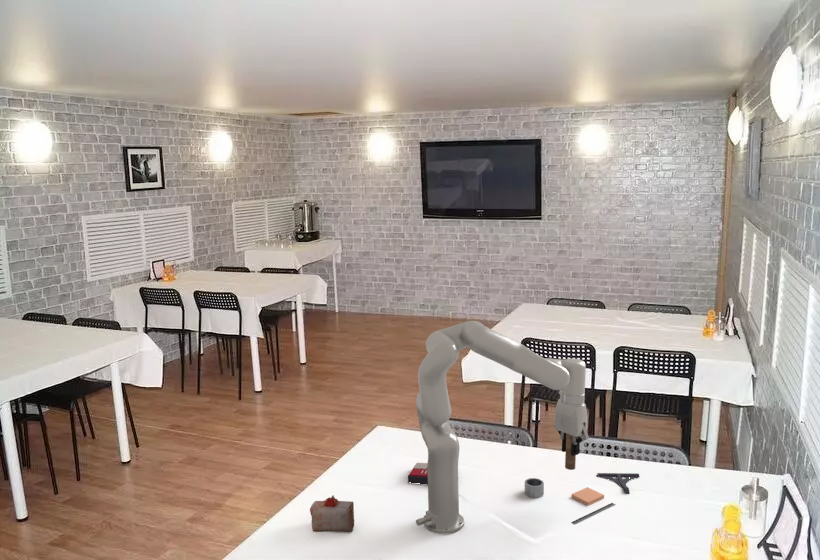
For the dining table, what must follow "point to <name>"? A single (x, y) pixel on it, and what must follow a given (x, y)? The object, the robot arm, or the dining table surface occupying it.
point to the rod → (569, 454)
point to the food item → (332, 515)
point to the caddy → (534, 488)
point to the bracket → (619, 478)
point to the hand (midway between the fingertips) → (570, 452)
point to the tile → (587, 496)
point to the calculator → (419, 474)
